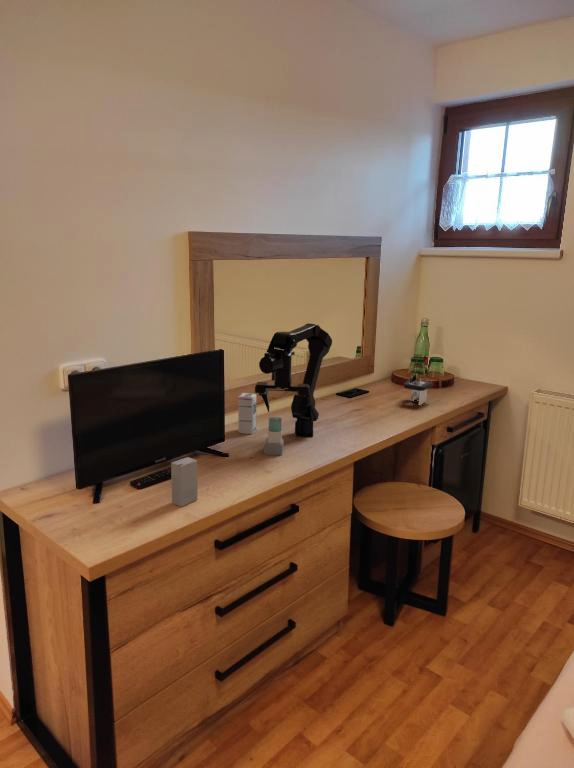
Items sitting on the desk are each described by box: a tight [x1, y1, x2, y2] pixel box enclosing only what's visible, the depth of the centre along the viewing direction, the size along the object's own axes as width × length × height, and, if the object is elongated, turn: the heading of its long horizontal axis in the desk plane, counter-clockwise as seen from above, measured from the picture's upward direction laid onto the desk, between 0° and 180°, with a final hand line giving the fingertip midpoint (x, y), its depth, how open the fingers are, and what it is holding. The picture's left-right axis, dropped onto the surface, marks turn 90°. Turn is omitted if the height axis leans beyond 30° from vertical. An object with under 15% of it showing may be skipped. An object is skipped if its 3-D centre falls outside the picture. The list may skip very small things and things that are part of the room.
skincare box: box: [170, 456, 198, 507], centre depth 159 cm, size 6×4×12 cm
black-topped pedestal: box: [403, 373, 434, 406], centre depth 265 cm, size 28×26×13 cm
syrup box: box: [237, 392, 257, 435], centre depth 219 cm, size 6×6×14 cm
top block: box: [267, 427, 283, 443], centre depth 200 cm, size 4×4×4 cm
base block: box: [264, 437, 285, 456], centre depth 201 cm, size 6×6×4 cm
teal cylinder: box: [268, 416, 283, 432], centre depth 199 cm, size 4×4×4 cm
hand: (281, 412), depth 204 cm, fingers open, 9 cm apart
